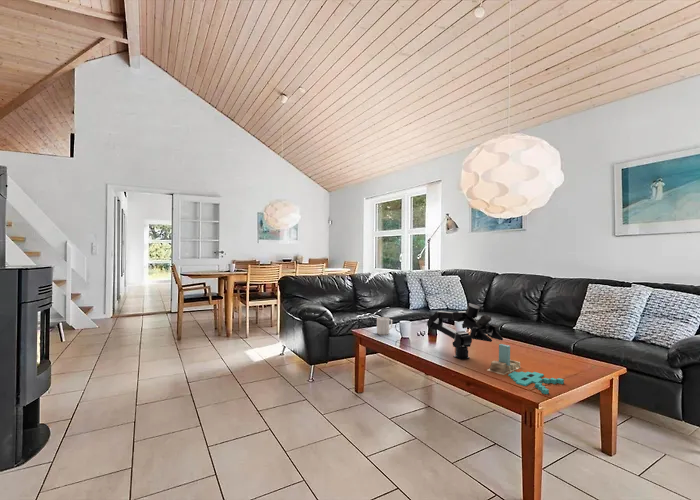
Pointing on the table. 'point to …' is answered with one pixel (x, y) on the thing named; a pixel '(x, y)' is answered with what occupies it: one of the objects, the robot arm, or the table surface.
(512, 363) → the birch rack
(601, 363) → the table surface
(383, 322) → the mug
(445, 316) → the robot arm
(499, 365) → the upper oak offcut
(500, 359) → the teal panel
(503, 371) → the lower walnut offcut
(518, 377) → the alien figure
